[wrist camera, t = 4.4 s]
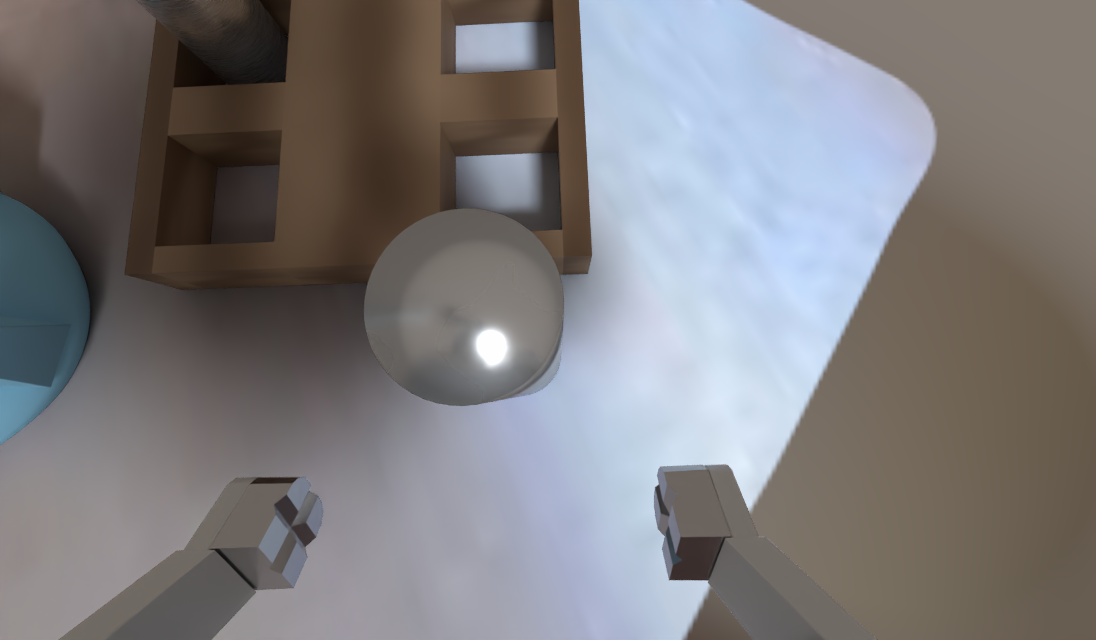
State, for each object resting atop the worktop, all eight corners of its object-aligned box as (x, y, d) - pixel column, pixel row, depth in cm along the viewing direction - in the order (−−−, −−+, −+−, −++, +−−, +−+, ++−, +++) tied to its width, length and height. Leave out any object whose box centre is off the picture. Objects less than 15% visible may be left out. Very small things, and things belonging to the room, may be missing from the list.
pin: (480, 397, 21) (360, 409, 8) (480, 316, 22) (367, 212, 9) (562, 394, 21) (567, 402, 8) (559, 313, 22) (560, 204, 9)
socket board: (182, 289, 22) (124, 274, 19) (209, 18, 25) (162, -31, 22) (587, 273, 22) (592, 255, 19) (574, 0, 25) (575, -54, 22)
